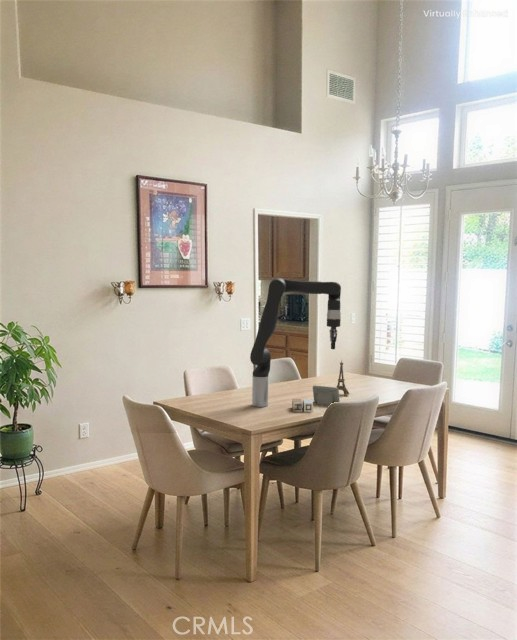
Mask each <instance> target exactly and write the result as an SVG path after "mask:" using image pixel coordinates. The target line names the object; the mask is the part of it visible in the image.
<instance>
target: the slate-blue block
mask: <svg viewBox="0 0 517 640" xmlns="http://www.w3.org/2000/svg"><path fill="white" fill-rule="evenodd" d="M302 411H303V412H304V413H305V412H309V413H314V401H313V400H312V399H311V398H302Z"/></svg>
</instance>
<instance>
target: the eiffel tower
mask: <svg viewBox="0 0 517 640" xmlns="http://www.w3.org/2000/svg"><path fill="white" fill-rule="evenodd" d="M339 365H340V367H339V374H338V375H339V376H338V379H337V385H336V388H338V389H339V390H340V391H343V397H346V398H347V397H349V395H351V394H350V392H349V390H348V389H347V387H346V384H345V377H344V369H343V368H344V366H343V365H344V362H343V360H341V362H339ZM340 384H341V385H340Z"/></svg>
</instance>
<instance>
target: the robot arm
mask: <svg viewBox="0 0 517 640" xmlns="http://www.w3.org/2000/svg"><path fill="white" fill-rule="evenodd" d="M292 292H293V293H301V294H302V293H303V294H307V295H308V294H309V295H321V294H322V295H328V297H327V299H328V301H327V311H326V312H327V313H326V327H329V328H330V329H329V340H330V341H329V342H330V349H331V350H336V342H337V337H338V329H337V328H340V327H341V315H342V313H341V294H342V293H341V292H342V286H341V284H340V283H339V282H337V281H320V280H319V281H317V280H316V281H315V280H313V281H312V280H311V281H310V280H309V281H308V280H305V281H304V280H290V279H285V278H281V277H275V278H273V279H272V280H271V281H270V283H269V284H268V291H267V298H266V302H265V305H264V308H263V311H262V313H261V318H260V320H259V327H258V329H257V333H256V337H255V341H254V343H253V346H252V348H251V352H250V356H249V359H250V362H251V364H252V365H254V366H256V368H255V369H253V371H252V391H251V392H252V394H251V397H252V399H251V405H252V406H253V407H256V408H257V407H258V408H265V407H268V406H269V373H270V370H271V359H272V358H271V352H270V350H269V349H267V348H266V345H267V343H268V341H269V339H270V338H271V336H272V335H273V334H274V332H275V331H276V327H277V323H278V318H279V310H280V309H279V308H280V304H281V300H282V297H283V295H284V294H285V293H292Z"/></svg>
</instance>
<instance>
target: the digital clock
mask: <svg viewBox="0 0 517 640" xmlns="http://www.w3.org/2000/svg"><path fill="white" fill-rule="evenodd" d="M312 394H313V396H312V397H313V402H315V403H316V405H321V404H322V405H323V406H330V404H331V403H334V402H340V391H339V389H338V388H337V387H334V386H325V385H316V384H315V385H313V386H312ZM340 403H341V402H340Z"/></svg>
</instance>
